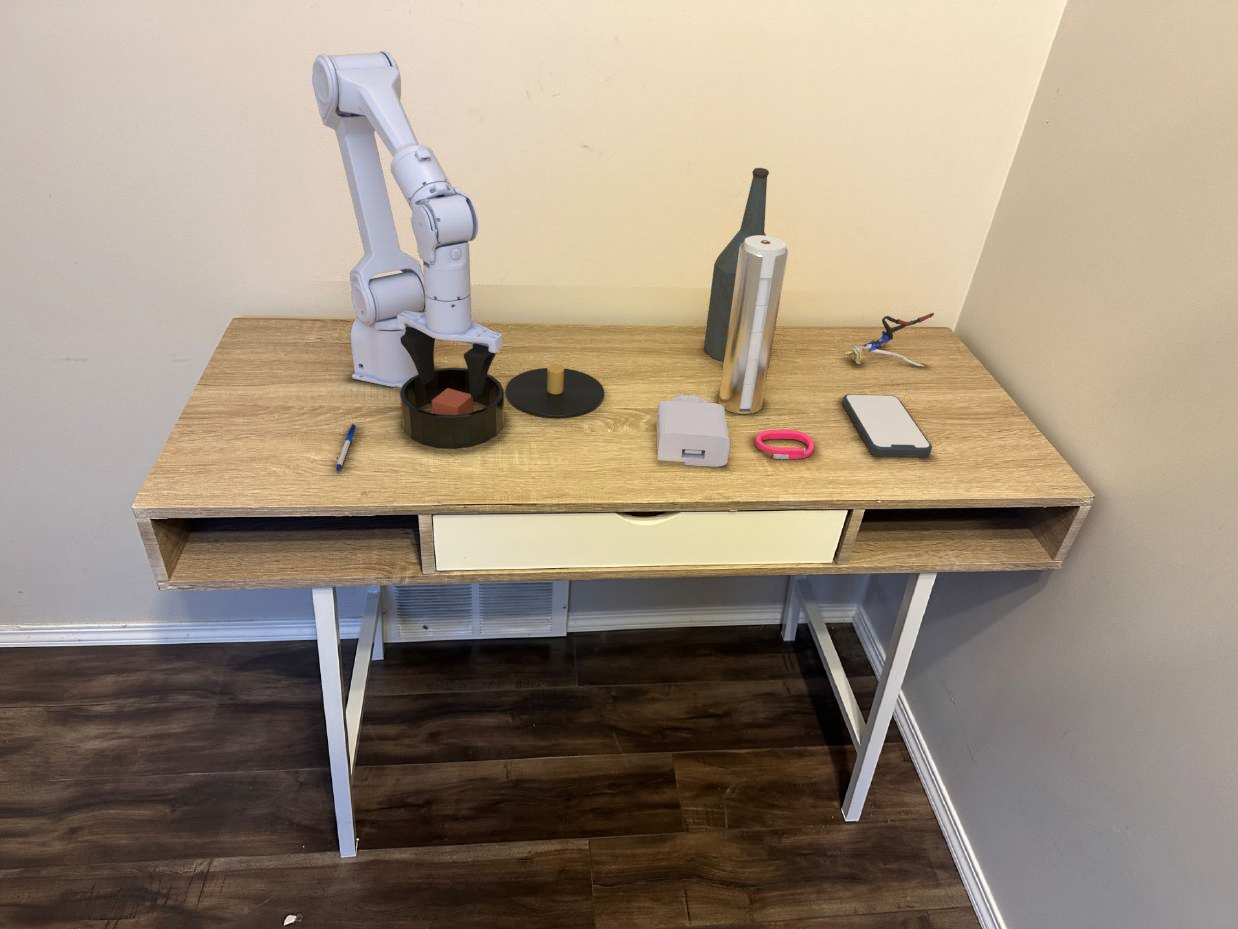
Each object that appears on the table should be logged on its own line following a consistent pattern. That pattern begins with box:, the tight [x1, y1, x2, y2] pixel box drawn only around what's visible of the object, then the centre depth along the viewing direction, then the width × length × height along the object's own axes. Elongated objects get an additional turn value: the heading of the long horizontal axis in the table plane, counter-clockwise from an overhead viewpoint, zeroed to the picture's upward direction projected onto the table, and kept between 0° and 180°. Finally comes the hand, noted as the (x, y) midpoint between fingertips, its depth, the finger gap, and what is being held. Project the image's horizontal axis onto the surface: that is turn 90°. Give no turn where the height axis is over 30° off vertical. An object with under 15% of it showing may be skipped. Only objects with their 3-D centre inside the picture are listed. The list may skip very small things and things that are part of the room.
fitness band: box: [754, 429, 815, 460], centre depth 124 cm, size 8×6×2 cm
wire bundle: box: [844, 312, 935, 368], centre depth 150 cm, size 10×9×20 cm
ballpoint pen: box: [335, 423, 357, 471], centre depth 117 cm, size 10×1×1 cm, turn 5°
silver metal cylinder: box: [718, 235, 789, 415], centre depth 127 cm, size 6×6×25 cm
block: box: [431, 388, 474, 415], centre depth 123 cm, size 4×4×4 cm
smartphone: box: [842, 393, 933, 458], centre depth 130 cm, size 9×2×16 cm
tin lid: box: [505, 364, 605, 419], centre depth 131 cm, size 14×14×5 cm
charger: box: [655, 392, 731, 468], centre depth 124 cm, size 5×9×15 cm
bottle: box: [703, 167, 770, 363], centre depth 140 cm, size 10×10×30 cm
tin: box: [399, 367, 505, 450], centre depth 123 cm, size 14×14×5 cm
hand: (452, 387), depth 121 cm, fingers open, 7 cm apart
